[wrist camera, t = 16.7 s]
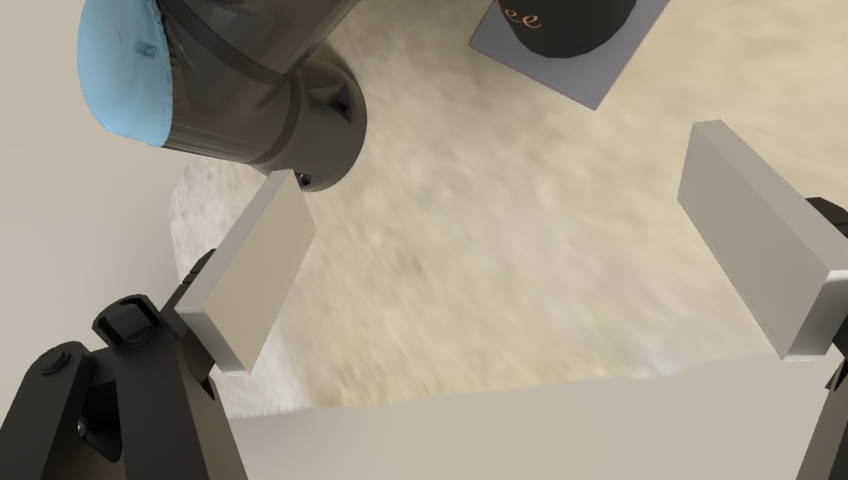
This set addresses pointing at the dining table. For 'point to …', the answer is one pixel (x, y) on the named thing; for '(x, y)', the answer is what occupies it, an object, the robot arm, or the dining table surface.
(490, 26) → the charcoal mat
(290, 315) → the dining table surface
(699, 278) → the dining table surface
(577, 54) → the coffee jar
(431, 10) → the dining table surface
